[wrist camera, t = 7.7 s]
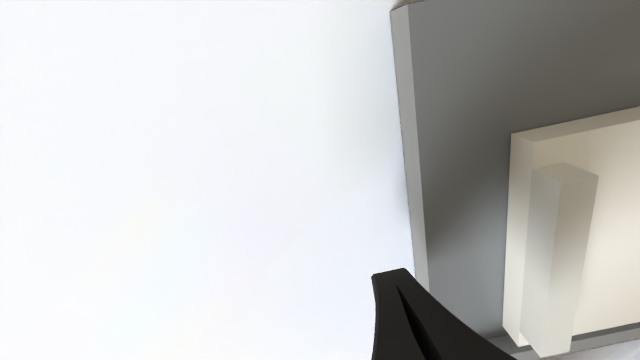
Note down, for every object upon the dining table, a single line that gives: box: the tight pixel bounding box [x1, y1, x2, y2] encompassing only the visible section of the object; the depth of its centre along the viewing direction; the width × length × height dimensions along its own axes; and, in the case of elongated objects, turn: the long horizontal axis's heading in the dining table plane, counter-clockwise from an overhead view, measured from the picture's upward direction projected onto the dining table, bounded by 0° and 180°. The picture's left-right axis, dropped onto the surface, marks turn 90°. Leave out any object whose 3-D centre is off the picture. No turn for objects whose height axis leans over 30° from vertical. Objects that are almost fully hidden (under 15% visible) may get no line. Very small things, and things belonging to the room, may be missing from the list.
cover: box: [502, 106, 640, 358], centre depth 12 cm, size 10×9×2 cm
